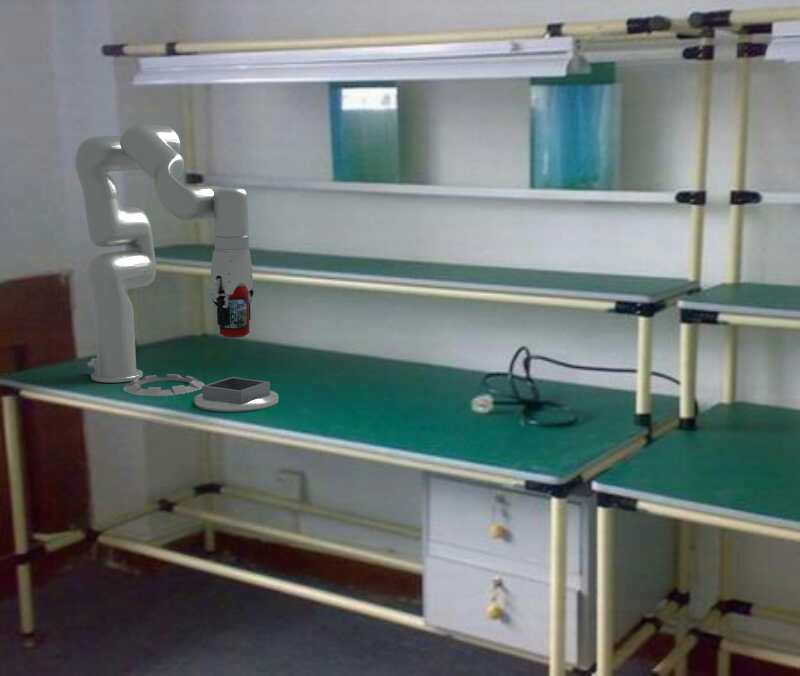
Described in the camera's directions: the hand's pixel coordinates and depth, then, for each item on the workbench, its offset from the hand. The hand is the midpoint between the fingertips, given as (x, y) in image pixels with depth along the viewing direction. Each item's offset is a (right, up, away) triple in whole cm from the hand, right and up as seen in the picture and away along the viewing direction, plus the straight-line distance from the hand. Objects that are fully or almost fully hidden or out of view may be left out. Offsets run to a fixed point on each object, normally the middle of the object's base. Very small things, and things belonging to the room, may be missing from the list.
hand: (234, 321), depth 257 cm
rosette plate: (0, -18, +3) cm, 19 cm away
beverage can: (0, -3, +1) cm, 3 cm away
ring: (-20, -16, +19) cm, 32 cm away
